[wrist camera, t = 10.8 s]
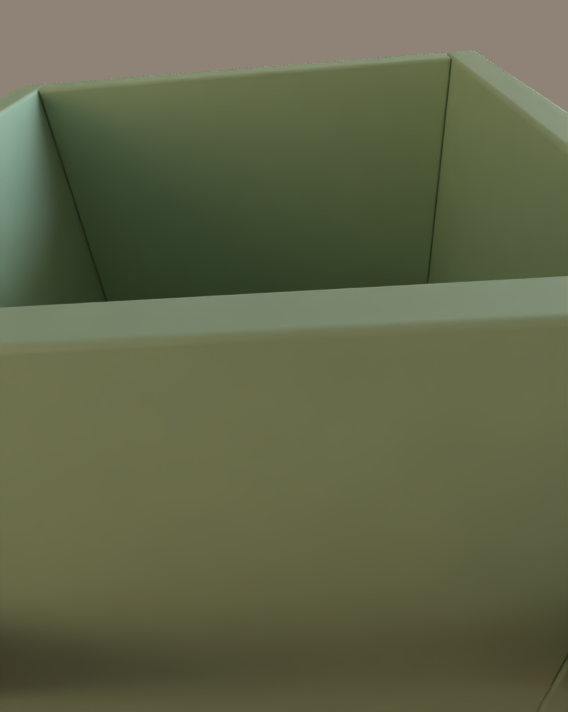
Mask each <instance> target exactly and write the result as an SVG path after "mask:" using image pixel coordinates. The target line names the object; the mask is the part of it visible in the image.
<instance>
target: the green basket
mask: <svg viewBox="0 0 568 712" xmlns="http://www.w3.org/2000/svg"><path fill="white" fill-rule="evenodd" d="M0 712H568V112H566V111H564V110H563V109H561V108H560V107H558V106H557V105H555V104H554V103H552V102H551V101H549V100H548V99H546V98H545V97H543V96H542V95H540V94H539V93H537V92H536V91H534V90H533V89H531V88H530V87H528V86H527V85H525V84H524V83H522V82H521V81H519V80H518V79H516V78H515V77H513V76H512V75H510V74H508V73H507V72H506V71H504V70H502V69H501V68H499V67H498V66H496V65H495V64H493V63H492V62H490V61H489V60H487V59H486V58H484V57H483V56H481V55H480V54H478V53H476V52H475V51H460V52H450V53H448V54H447V55H446V54H445V53H434V54H422V55H409V56H396V57H384V58H371V59H358V60H345V61H333V62H320V63H307V64H294V65H282V66H270V67H256V68H244V69H230V70H218V71H205V72H192V73H180V74H168V75H154V76H142V77H130V78H116V79H104V80H90V81H78V82H65V83H53V84H48V85H47V86H46V85H43V84H41V85H27V86H21V87H19V88H17V89H16V90H14V91H12V92H10V93H9V94H7V95H5V96H4V97H2V98H0Z"/></svg>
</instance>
